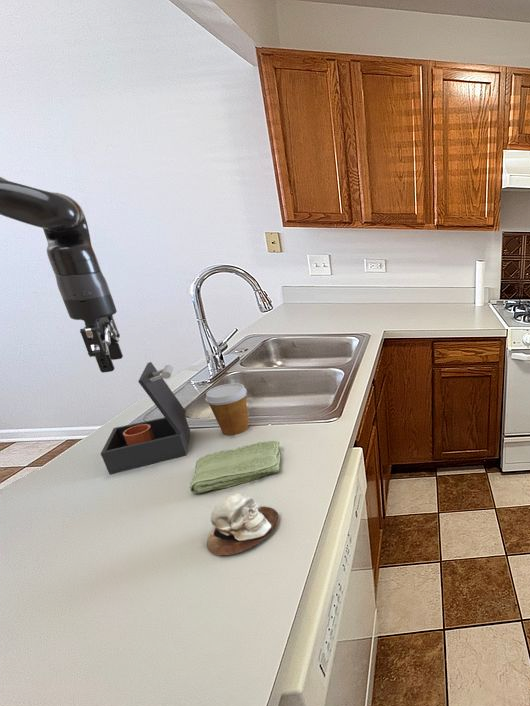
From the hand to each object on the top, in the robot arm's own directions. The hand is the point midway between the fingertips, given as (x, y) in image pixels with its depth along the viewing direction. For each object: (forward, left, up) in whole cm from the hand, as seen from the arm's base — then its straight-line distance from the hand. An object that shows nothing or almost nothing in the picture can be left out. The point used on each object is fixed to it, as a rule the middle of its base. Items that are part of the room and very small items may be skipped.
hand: (112, 364), depth 90 cm
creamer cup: (0, 0, -23) cm, 23 cm away
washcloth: (+24, -14, -24) cm, 37 cm away
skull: (+30, -35, -24) cm, 52 cm away
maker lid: (+6, +2, -10) cm, 12 cm away
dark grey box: (+1, 0, -24) cm, 24 cm away
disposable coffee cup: (+18, +6, -24) cm, 31 cm away
